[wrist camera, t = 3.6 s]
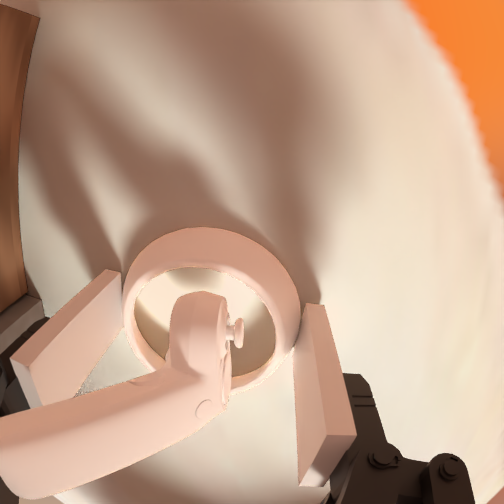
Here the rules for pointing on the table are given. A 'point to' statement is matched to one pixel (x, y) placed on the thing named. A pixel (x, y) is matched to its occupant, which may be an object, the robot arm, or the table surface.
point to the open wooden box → (13, 174)
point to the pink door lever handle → (154, 371)
